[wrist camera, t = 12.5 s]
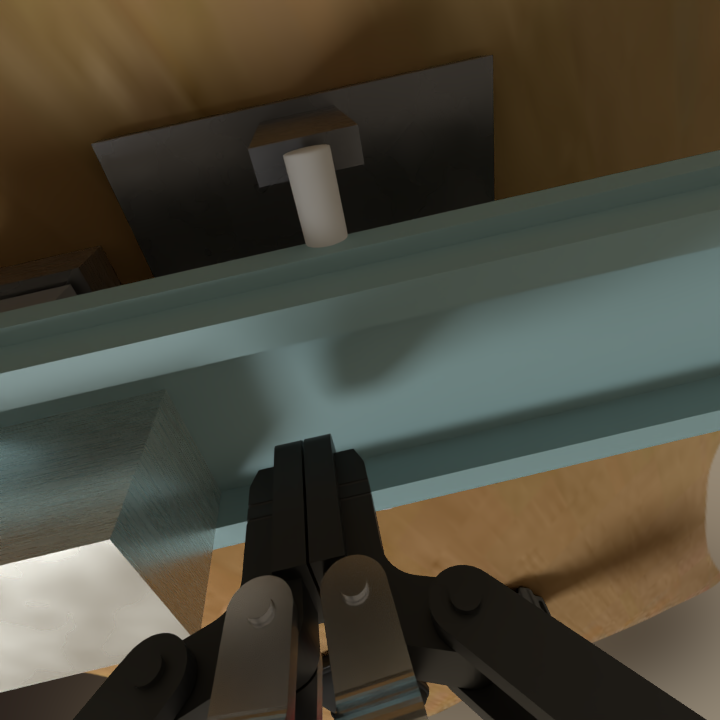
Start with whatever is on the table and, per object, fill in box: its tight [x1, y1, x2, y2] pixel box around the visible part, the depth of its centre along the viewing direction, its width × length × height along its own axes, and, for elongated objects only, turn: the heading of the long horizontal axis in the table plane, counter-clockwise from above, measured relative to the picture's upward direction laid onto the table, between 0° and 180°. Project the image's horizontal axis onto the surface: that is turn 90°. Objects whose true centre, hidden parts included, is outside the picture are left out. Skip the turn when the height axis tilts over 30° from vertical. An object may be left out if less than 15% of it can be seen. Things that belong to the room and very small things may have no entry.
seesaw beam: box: [0, 144, 720, 550], centre depth 16 cm, size 14×34×9 cm, turn 100°
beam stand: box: [0, 55, 494, 300], centre depth 19 cm, size 15×24×8 cm, turn 100°
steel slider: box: [0, 390, 221, 692], centre depth 12 cm, size 5×6×5 cm
